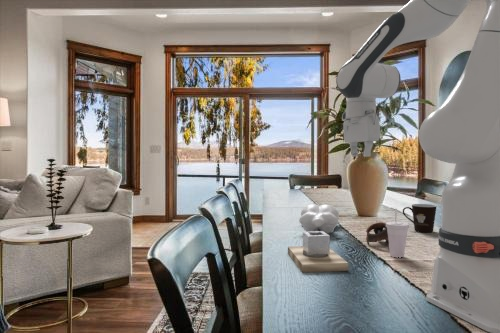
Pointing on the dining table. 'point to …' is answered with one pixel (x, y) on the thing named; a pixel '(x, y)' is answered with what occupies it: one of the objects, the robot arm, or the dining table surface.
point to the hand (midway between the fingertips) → (360, 156)
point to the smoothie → (397, 237)
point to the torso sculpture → (319, 218)
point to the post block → (317, 260)
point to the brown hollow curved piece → (377, 232)
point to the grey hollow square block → (316, 243)
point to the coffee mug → (423, 217)
